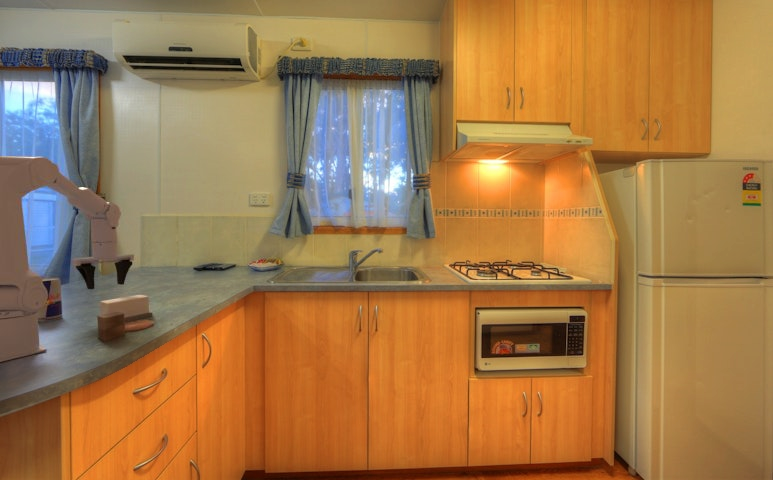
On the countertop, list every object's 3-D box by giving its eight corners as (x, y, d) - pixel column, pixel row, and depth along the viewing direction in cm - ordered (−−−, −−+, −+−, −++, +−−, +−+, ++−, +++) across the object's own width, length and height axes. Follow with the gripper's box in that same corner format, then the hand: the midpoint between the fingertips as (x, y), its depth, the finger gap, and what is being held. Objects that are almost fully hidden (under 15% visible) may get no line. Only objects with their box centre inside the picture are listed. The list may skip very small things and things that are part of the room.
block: (105, 342, 78) (104, 318, 77) (98, 339, 80) (97, 315, 79) (125, 337, 81) (124, 314, 81) (118, 334, 83) (117, 311, 83)
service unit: (108, 325, 90) (107, 304, 89) (97, 321, 93) (96, 301, 93) (152, 315, 99) (151, 296, 99) (141, 312, 103) (141, 293, 102)
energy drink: (37, 323, 91) (35, 281, 90) (35, 319, 94) (32, 279, 93) (64, 318, 95) (61, 279, 94) (60, 315, 98) (58, 277, 98)
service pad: (124, 333, 83) (124, 331, 83) (111, 328, 87) (111, 326, 87) (158, 325, 90) (158, 323, 90) (145, 320, 94) (144, 318, 94)
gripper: (81, 243, 88) (83, 292, 89) (139, 241, 101) (140, 283, 102) (67, 243, 91) (70, 290, 92) (125, 240, 104) (127, 281, 105)
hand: (106, 286), depth 97 cm, fingers open, 7 cm apart
